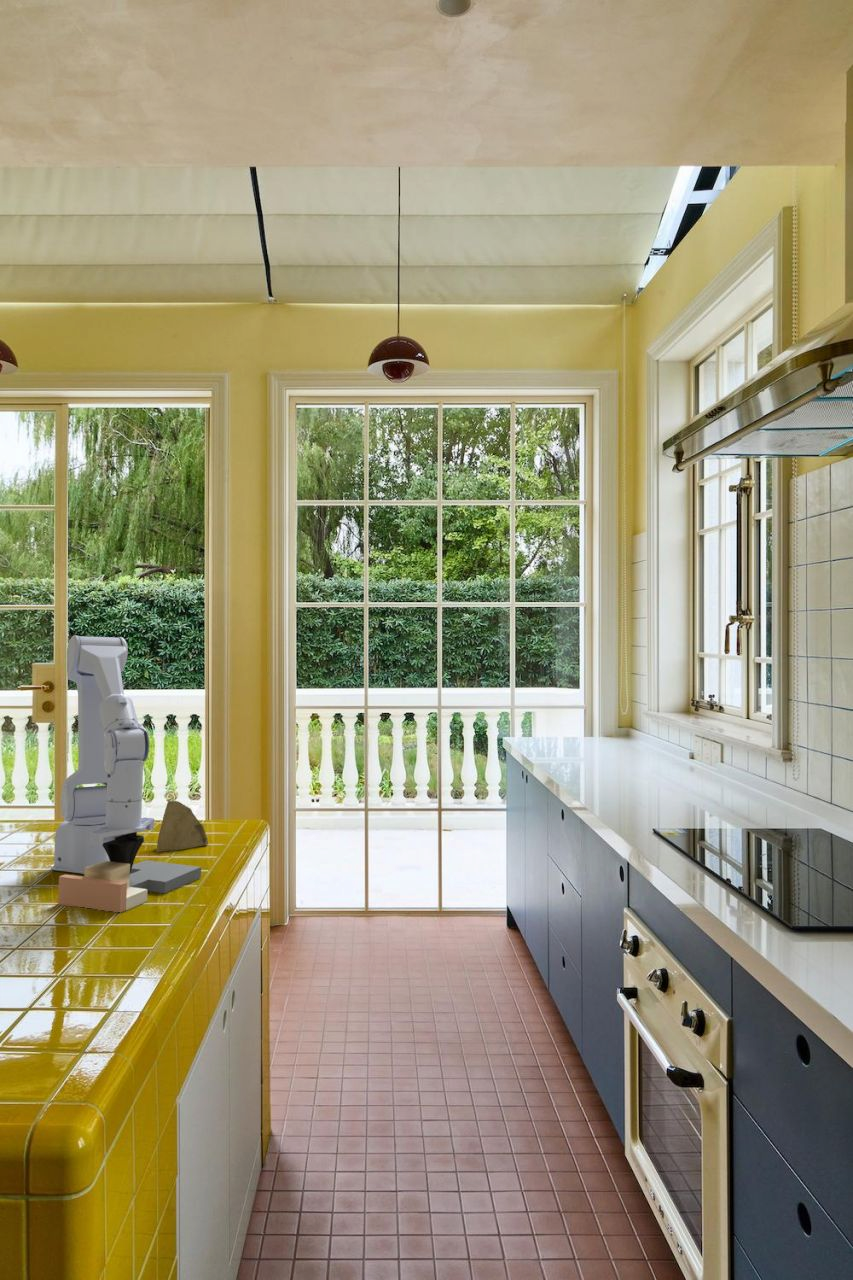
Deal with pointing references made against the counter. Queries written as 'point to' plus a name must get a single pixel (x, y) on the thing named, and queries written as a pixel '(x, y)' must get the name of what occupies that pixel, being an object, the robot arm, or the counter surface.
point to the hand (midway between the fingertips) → (121, 879)
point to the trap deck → (125, 886)
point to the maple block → (109, 871)
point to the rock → (180, 829)
